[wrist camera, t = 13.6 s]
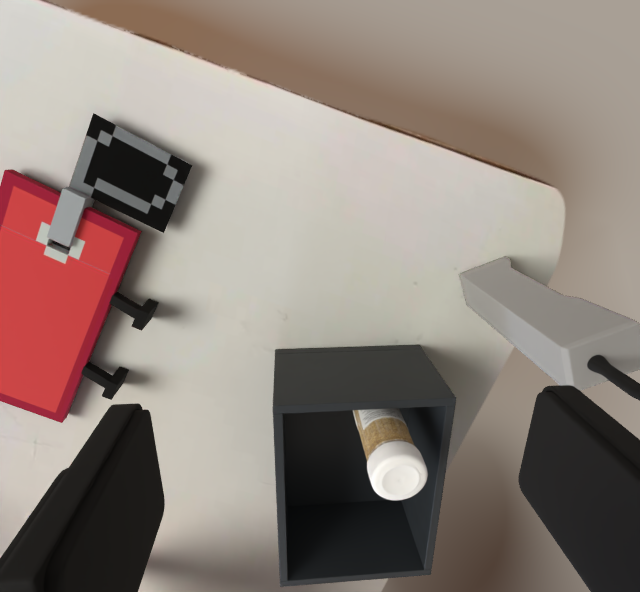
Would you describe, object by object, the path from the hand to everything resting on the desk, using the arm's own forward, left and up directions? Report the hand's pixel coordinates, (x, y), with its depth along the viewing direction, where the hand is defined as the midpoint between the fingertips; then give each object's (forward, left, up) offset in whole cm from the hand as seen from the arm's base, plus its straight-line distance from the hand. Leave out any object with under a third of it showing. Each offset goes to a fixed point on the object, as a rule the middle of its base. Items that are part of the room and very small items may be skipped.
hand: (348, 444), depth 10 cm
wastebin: (+24, +5, -30) cm, 39 cm away
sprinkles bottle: (+17, +7, -30) cm, 35 cm away
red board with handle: (+5, -21, -31) cm, 38 cm away
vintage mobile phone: (+6, +19, -31) cm, 36 cm away
